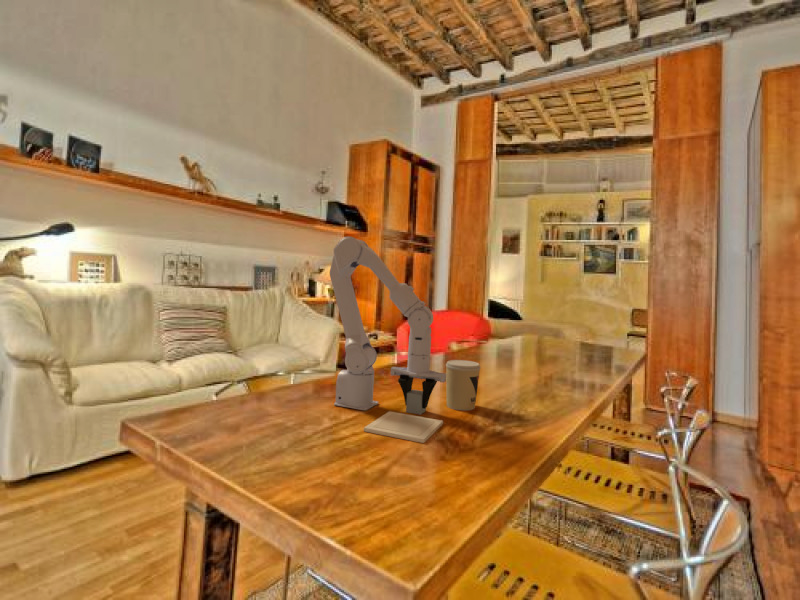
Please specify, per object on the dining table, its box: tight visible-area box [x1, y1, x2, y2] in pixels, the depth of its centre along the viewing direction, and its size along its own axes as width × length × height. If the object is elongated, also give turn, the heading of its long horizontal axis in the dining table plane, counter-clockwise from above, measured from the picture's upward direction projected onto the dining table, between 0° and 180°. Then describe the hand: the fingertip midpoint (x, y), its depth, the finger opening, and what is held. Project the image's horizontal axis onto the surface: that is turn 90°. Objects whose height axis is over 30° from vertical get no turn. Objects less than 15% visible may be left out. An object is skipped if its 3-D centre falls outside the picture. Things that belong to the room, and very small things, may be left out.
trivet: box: [363, 410, 444, 444], centre depth 102 cm, size 14×14×1 cm
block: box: [405, 389, 427, 416], centre depth 114 cm, size 4×4×5 cm
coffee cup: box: [445, 359, 481, 411], centre depth 121 cm, size 9×9×12 cm
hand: (416, 406), depth 114 cm, fingers closed on block, 4 cm apart
